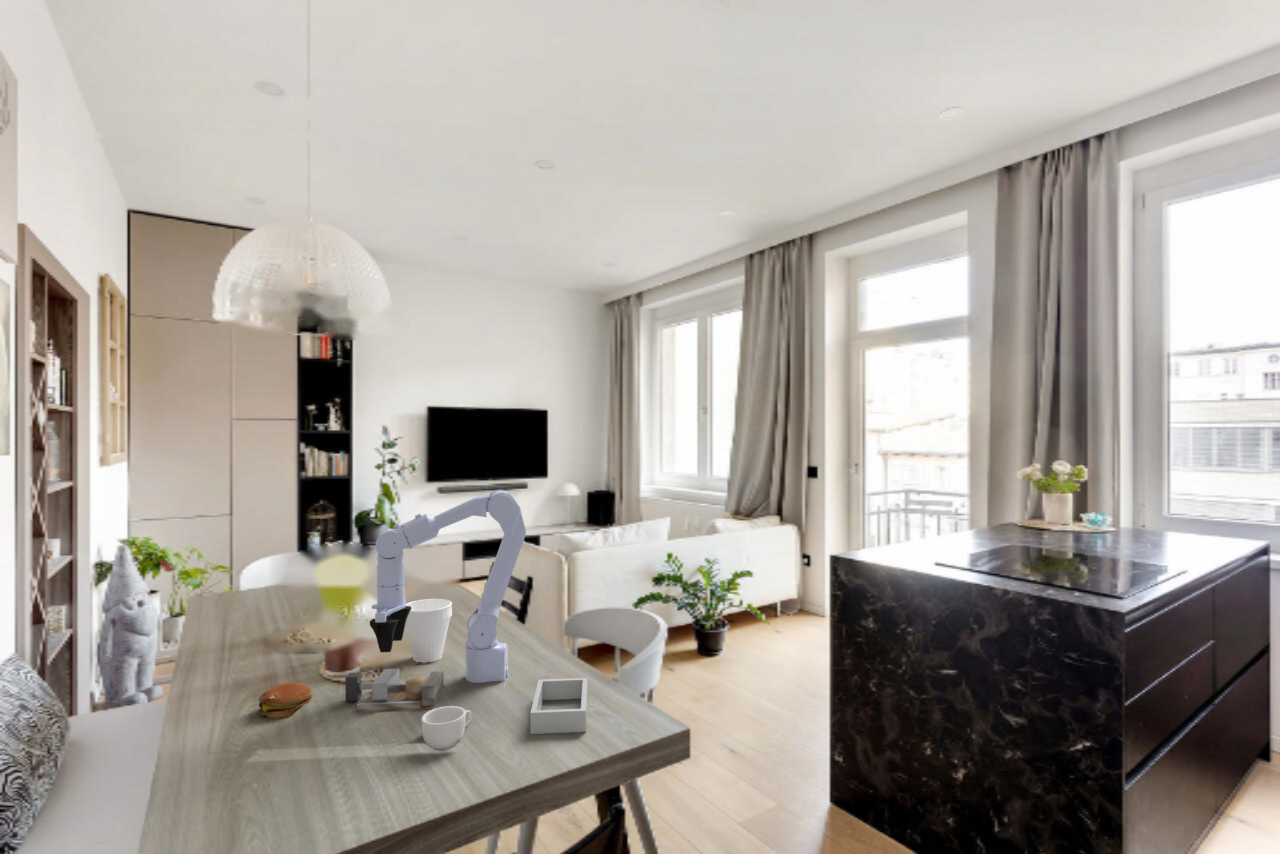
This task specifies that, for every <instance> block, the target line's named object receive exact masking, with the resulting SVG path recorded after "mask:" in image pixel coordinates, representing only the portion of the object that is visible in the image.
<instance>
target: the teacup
mask: <svg viewBox="0 0 1280 854" xmlns="http://www.w3.org/2000/svg"><path fill="white" fill-rule="evenodd" d="M467 714H468V716H469V717H468V719H467V721H466V718H467V717H466V716H467ZM472 718H473V713H472V711H471V710H468V709H467V710H466V709H465V708H463V707H461V706H457V705H449V706H447V705H446V706H440V707H436V708H432V710H427V712H425V713H424V714H423V715H422V716H421V730H422V732H421V733H422V737H423V740H424V742H425V744H426V745H427V746H428V747H430V748H431V749H433V750H437V751H444V750H449V749H451V748H454V747H455V746H456V745H458V744H459V743H460V740H461V739H462V738H463V737H464V734H465V729H466V727H467V726H468V725H469V724H470V722H471V721H472Z"/></svg>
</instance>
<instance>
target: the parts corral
mask: <svg viewBox="0 0 1280 854" xmlns="http://www.w3.org/2000/svg"><path fill="white" fill-rule="evenodd" d="M588 680H589V679H588V677H579V678H578V677H577V678H553V679H552V678H551V679H544V678H543V679H538V680H537V684H536V685H537V686H536V689H535V692H534V697H533V701H532V705H531V709H530V712H529V713H530V715H529V717H530V735H539V734H541V735H542V734H561V733H563V734H564V733H565V734H566V733H584V732H585V733H587V722H588V721H587V720H588V719H587V718H588V699H589V697H588V696H589V695H588V694H589V693H588V692H589V691H588V688H589V686H588V684H589V683H588ZM553 700H554V701H556V700H580V701H581V702H580V708H568V709H567V708H565V709H543V710H542V706H543V702H544V701H553Z"/></svg>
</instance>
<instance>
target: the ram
mask: <svg viewBox="0 0 1280 854" xmlns="http://www.w3.org/2000/svg"><path fill="white" fill-rule="evenodd" d="M362 675H363V674H362V672H350V673H348V675H346V676H345V680H344V681H345V682H344V683H345V702H346V703H347V702H359V700H360V699H361V698H362V696H363V694H362V692H363V691H362V690H371V691H372V692H371V694H372V702H391V700H392V699H393V698H394V697H395V695H396V694H397V693H398V691H399V690H400V684H401V683H400V677H401V676H400V668H385V669H384V670H383V671H382V672H381V673H380V674H379V675H378V676H377V678H375V680H374V681H363V679H362Z"/></svg>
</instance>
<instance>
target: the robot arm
mask: <svg viewBox="0 0 1280 854" xmlns="http://www.w3.org/2000/svg"><path fill="white" fill-rule="evenodd" d="M487 513H489V515H490V516H491V517H492V518H493V520H494V521H496V522H497V523H498V525H499V526H500V528H501V530H502V532H503V536H502V539H501V542H500V545H499V548H498V550H497V553H496V557H495V559H494V561H493V565H492V567H491V570H490V573H489V576H488V579H487V581H486V584H485V587H484V590H483V592H482V596H481V598H480V599H479V602H478V604H477V606H476V609H475V610H474V611H473V612H472V613H471V614H470V615H469V617H468V619H467V625H466V626H467V639H468V640H467V641H466V642H465V680H466V681H467V682H469V683H474V684H475V683H476V684H481V683H489V682H504V684H503V689H504V688H505V686H506V683H507V681H508V679H509V646H508V643H505V642H499V639H498V637H497V634H498V632H497V622H498V619H499V617H500V616H499V615H500V612H501V611H500V610H501V606H502V603H503V600H504V598H505V594H506V592H507V589H508V586H509V584H510V583H509V582H510V580H511V577H512V574H513V573H514V572H513V571H514V569H515V566H516V563H517V560H518V558H519V555H520V551H521V549H522V546H523V544H524V541H525V538H526V534H527V529H526V526H525V522H524V518H523V514H522V511H521V507H520V506H519V504H518V502H517V501H516V499H515V497H514V496H512V494H511V493H510V492H509V491H507V490H504V489H497V490H496V489H495V490H494V491H492V492H491V493H490V492H487V493H483V494H481V495H478V496H475V497H472V498H470V499H468V500H466V501H464V502H462V503H460V504H458V505H455V506H453V507H451V508H449V509H447V510H444V511H442V512H440V513H439V514H437V515H431V514H429V513H424V514H422V513H418V514H415V516H414V518H413V519H411V520H407V521H406V522H403V523H401V524H400V523H396V524H394V525H393V528H388V529H386V530H383V532H381V533H380V534H379V536H378V537H377V538H376V541H375V550H376V552H377V559H376V560H377V564H376V591H377V593H376V594H377V595H376V596H377V597H376V599H377V601H376V603H373V604H372V605H371V610H376V612H375V614H374V615H375V618H372V619H370V620H369V627H370V628H371V629H372V631H373V633H374V635H375V637H376V641H377V645H378V649H379V652H380V653H391V651H392V649H393V644H394V643H393V642H398V641H399V642H401V641H402V640H403V638H404V632H405V623H406V620H407V617H408V615H409V613H410V611H411V606H406V604H407V602H406V599H407V598H406V597H407V596H406V591H405V590H406V589H405V588H406V584H405V583H406V582H405V581H406V579H405V577H406V576H405V575H406V574H405V573H406V572H405V571H406V569H405V561H404V549H407V550H408V549H412V548H414V547H416V546H419V545H421V544H423V543H425V542H427V541H430V540H432V539H435V538H437V537H438V534H439V531H440V530H441V529H443V528H445V527H448V526H451V525H454V524H456V523H458V522H460V521H463V520H465V519H468V518H471V517H472V516H473V517H475V516H476V517H482V518H487Z"/></svg>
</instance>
